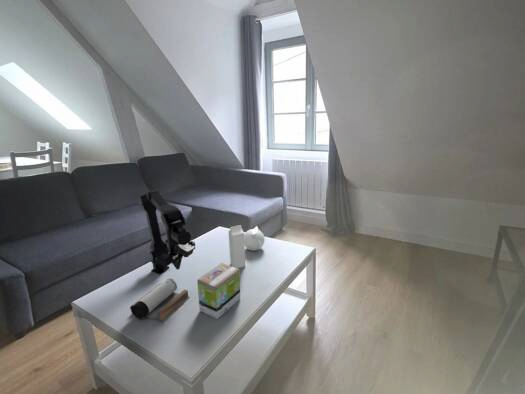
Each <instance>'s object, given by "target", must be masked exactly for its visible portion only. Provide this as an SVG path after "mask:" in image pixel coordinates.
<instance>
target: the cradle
mask: <svg viewBox="0 0 525 394" xmlns="http://www.w3.org/2000/svg"><path fill="white" fill-rule="evenodd" d="M162 283H163V282H161V283H159V284H158V285H157V286H155V287H154V288H153V289H152V290H154V289H155V288H156V287H158V286H159V285H160V284H162ZM152 290H150V291H149V292H148V293H146V294H145V295H144V296H142V297H141V298H140V299H138V300H137V301H136V302H134V303H133V304H132V305H133V306H134V305H135V304H136V303H137V302H138V301H140V300H141V299H142V298H143V297H145V296H146V295H147V294H149V293H150V292H151V291H152ZM190 298H191V297H190V296H189V291H188V289H183V290H182V291H181V292H179V293H178V292H176V291H174V292H173V293H172V294H171V295H170V296H169V297H167V298H166V299H165V300H164V301H163V302H162V303H160V304H159V305H158V306H157V307H156V308H155V309H153V310H152V311H151V312H150V313H149V314H148V315H146V316H145V317H147V318H150V319H153V320H155V321H159V322H162V323H165V322H166V321H167V320H168V319H169V318H170V317H171V316H172V315H174V313H176V311H177V310H178V309H180V308H181V306H183V305H184V304H185V303H186V302H187V301H188V300H189V299H190Z"/></svg>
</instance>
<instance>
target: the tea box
mask: <svg viewBox="0 0 525 394" xmlns="http://www.w3.org/2000/svg"><path fill="white" fill-rule="evenodd" d="M240 274H241V273H240V268H238V269H237V268H234V267H232V265H228V264H225V263H222V262H221V263H220V264H218V265H217V266H215V267H214V268H212V269H211V270H209V271H208V272H206V273H205V274H204V275H202V276H201V277H199V278H198V279H196V280H197V292H198V307H199V311H200V312H202V313H204V314H206V315H208V316H210V317H212V318H214V319H216V320H218V319H219V318H220V317H221V316H222V315H224V314H225V313H226V312H227V311H228V310H229V309H230V308H231V307H233V306H234V305H235V304H236V303H237V302H238V301H240V300H241V275H240Z"/></svg>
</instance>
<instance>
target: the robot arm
mask: <svg viewBox="0 0 525 394" xmlns="http://www.w3.org/2000/svg"><path fill="white" fill-rule="evenodd" d="M137 202H138V203H137V204H138V205H139V207H140V209H141V210H142V212H143V213H145V217H146V220H147V227H148V230H149V235H150V239H151V243H150V245H149V253H148V255H147V257H148V258H147V259H148V261H149V262H150V263H152V268H153V269H151V271H150V272H152V273H155V274H160V275H161V274H163V273H164V272H166V271H167V270H168V269H169V268H170V265H171V264H172V266H174V268H175V270H180V269H181V264H182V260H183V257H184V258H189V256H191V255H192V254H193V253H194V250H195V249H196V242H195V241H194V240H191V239H192V235H191V233H190V232H189V231H188V230H186V227H184V226H185V225H186V224H187V223H186V219H185V217H184V215H183V213H182V211H181V210H180V209H179V208H178V207H177V206H175V205H171V204H169V202H167V200H165V199H164V197H163V196H162V195H161V194H160V192H159V190H152V191H151V190H150V191H147V192H146V193H144V194H143V195H140V196H139V197H138V198H137ZM157 211H159V213H160V219H161V223H162V224H163V225H164V227H165V232H166V239H165V241H163V238H162V233H161V230H160V224H159V221H158V216H157Z"/></svg>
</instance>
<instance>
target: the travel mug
mask: <svg viewBox="0 0 525 394" xmlns="http://www.w3.org/2000/svg"><path fill="white" fill-rule="evenodd" d="M161 283H162V284H161ZM161 283H159V284H160V285H159V284H158V285H159V286H158V285H157V286H158V287H157V286H155V287H156V288H155V287H154V288H155V289H154V288H153V289H154V290H153V289H152V290H150V291H151V292H150V291H149V292H150V293H149V292H148V293H149V294H148V293H146V294H147V295H146V294H145V295H146V296H145V295H144V296H145V297H144V296H142V297H143V298H142V297H141V298H142V299H141V298H140V299H141V300H140V299H139V300H140V301H139V300H137V301H138V302H137V301H136V302H137V303H136V302H135V303H136V304H135V303H134V304H135V305H134V306H133V304H132V305H131V306H130V307H129V309H130V311H131V314H132V316H134V317H135V318H137V319H140V320H141V319H144V318H145V317H147V316H146V315H148V314H149V313H150V312H151V311H152V310H153V309H155V308H156V307H157V306H158V305H159V304H160V303H162V302H163V301H164V300H165V299H166V298H167V297H169V296H170V295H171V294H172V293H173V292H176V291H177V289H178V284H177V283H176V281H175V280H174V279H173V278H167V279H165V280H163V282H161Z"/></svg>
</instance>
